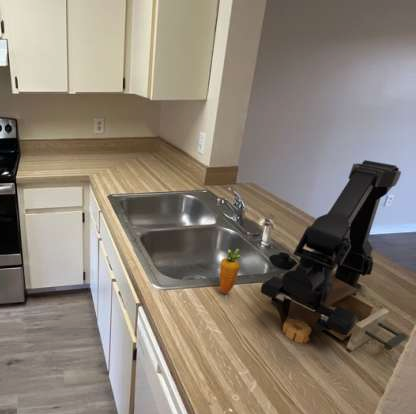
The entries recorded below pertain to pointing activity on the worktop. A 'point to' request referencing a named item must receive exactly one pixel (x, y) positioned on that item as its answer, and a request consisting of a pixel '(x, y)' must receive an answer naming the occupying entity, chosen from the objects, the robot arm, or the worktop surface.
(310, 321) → the cabinet
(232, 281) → the carrot
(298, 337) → the wooden gear wheel
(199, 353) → the worktop surface
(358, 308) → the drawer
